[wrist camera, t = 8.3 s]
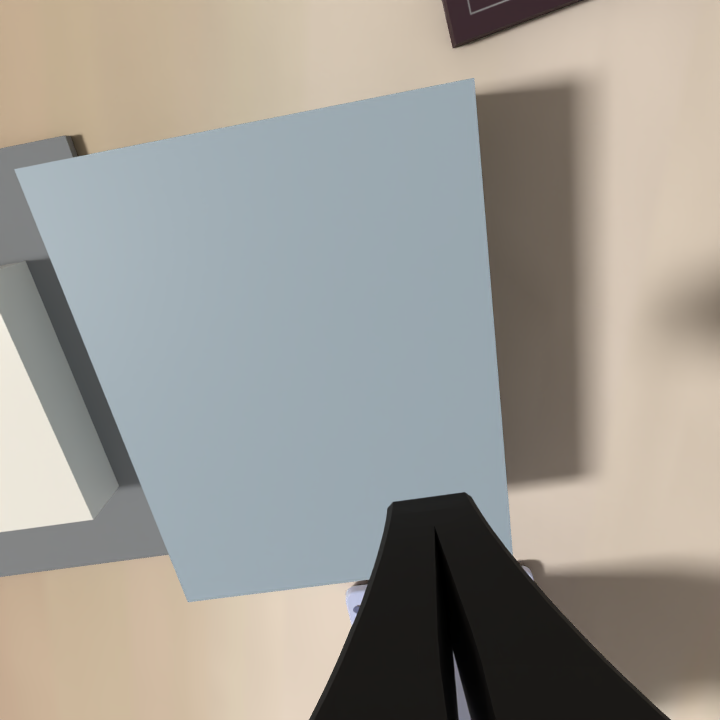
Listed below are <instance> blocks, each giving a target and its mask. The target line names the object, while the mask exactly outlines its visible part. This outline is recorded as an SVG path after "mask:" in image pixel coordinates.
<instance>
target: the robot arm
mask: <svg viewBox="0 0 720 720" xmlns="http://www.w3.org/2000/svg"><path fill="white" fill-rule="evenodd" d="M346 604H347V608H348V612H349V616H350V620H351V624H352V627H351V629H350V632H349V634H348V637H347V639H346V641H345V644H344V646H343V649H342V651H341V653H340V656H339V658H338V661H337V663H336V665H335V667H334V669H333V672H332V674H331V676H330V678H329V680H328V682H327V684H326V687H325V689H324V691H323V693H322V695H321V697H320V699H319V701H318V703H317V705H316V707H315V709H314V711H313V713H312V715H311V717H310V719H309V720H671V719H669V718H668V717H667V716H666V715H665V714H664V713H663V712H662V711H660V710H659V709H658V708H657V707H656V706H655V705H654V704H653V703H652V702H651V701H650V700H649V699H648V698H646V697H645V696H644V695H643V694H642V693H641V692H640V691H639V690H638V689H637V688H636V687H635V686H634V685H633V684H632V683H630V682H629V681H628V680H627V679H626V678H625V677H624V676H623V675H622V674H621V673H620V672H619V671H618V670H617V669H616V668H615V667H614V666H613V665H612V664H611V663H610V662H609V661H608V660H607V659H606V658H605V657H604V656H603V655H602V654H601V653H600V652H599V651H598V650H597V649H596V648H595V647H594V646H593V645H592V644H591V643H590V642H589V641H588V640H587V639H586V638H585V637H584V636H583V635H582V634H581V633H580V632H579V631H578V630H577V628H576V627H575V626H574V625H573V624H572V623H571V622H570V621H569V620H568V619H567V618H566V617H565V616H564V615H563V614H562V613H561V612H560V610H559V609H558V608H557V607H556V606H555V605H554V604H553V603H552V601H551V600H550V599H549V598H548V597H547V596H546V595H545V594H544V593H543V591H542V590H541V589H540V588H539V587H538V585H537V584H536V583H535V582H534V578H533V575H532V573H531V570H530V569H529V568H528V567H526V566H521V565H520V564H519V563H518V562H517V561H516V559H515V558H514V557H513V555H512V554H511V553H510V552H509V550H508V549H507V548H506V547H505V545H504V544H503V543H502V541H501V540H500V539H499V537H498V536H497V535H496V533H495V532H494V531H493V529H492V528H491V526H490V525H489V524H488V522H487V521H486V519H485V518H484V516H483V515H482V513H481V512H480V510H479V508H478V507H477V505H476V504H475V502H474V500H473V498H472V497H471V496H470V495H468V494H467V493H465V492H461V493H454V494H447V495H439V496H432V497H425V498H417V499H410V500H402V501H395V502H392V503H391V505H390V506H389V507H388V508H387V515H386V521H385V526H384V531H383V535H382V539H381V543H380V547H379V550H378V554H377V557H376V561H375V564H374V567H373V570H372V573H371V576H370V579H369V582H368V584H366V585H358V586H353V587H351V588H349V589H348V590H347V592H346ZM357 605H360V607H359V606H357Z"/></svg>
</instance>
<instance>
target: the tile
mask: <svg viewBox="0 0 720 720" xmlns="http://www.w3.org/2000/svg"><path fill="white" fill-rule="evenodd" d="M118 487H119V485H118V482H117V480H116V478H115V475H114V473H113V470H112V468H111V466H110V463H109V461H108V458H107V456H106V454H105V451H104V449H103V446H102V444H101V441H100V439H99V437H98V434H97V432H96V429H95V427H94V425H93V422H92V420H91V417H90V415H89V413H88V410H87V408H86V405H85V403H84V401H83V398H82V396H81V393H80V391H79V388H78V386H77V384H76V381H75V379H74V376H73V374H72V372H71V369H70V367H69V364H68V362H67V360H66V357H65V355H64V352H63V350H62V348H61V345H60V343H59V340H58V338H57V336H56V333H55V331H54V328H53V326H52V323H51V321H50V319H49V316H48V314H47V311H46V309H45V307H44V304H43V302H42V299H41V297H40V295H39V292H38V290H37V287H36V285H35V283H34V280H33V278H32V275H31V273H30V270H29V268H28V266H27V263H26V261H23V262H18V263H12V264H7V265H1V266H0V532H6V531H13V530H21V529H28V528H36V527H43V526H50V525H58V524H65V523H73V522H80V521H87V520H93V519H94V518H95V517H96V515H97V514H98V513H99V512H100V510H101V509H102V508H103V506H104V505H105V504H106V502H107V501H108V500H109V498H110V497H111V496H112V495H113V493H114V492H115V491H116V489H117V488H118Z"/></svg>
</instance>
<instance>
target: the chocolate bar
mask: <svg viewBox="0 0 720 720" xmlns="http://www.w3.org/2000/svg"><path fill="white" fill-rule="evenodd" d="M579 1H581V0H442V2H443V7H444V11H445V16H446V20H447V25H448V29H449V34H450V38H451V43H452V47H453V48H455V47H458V46H461V45H463V44H466V43H469V42H471V41H474V40H477V39H480V38H482V37H485V36H488V35H490V34H493V33H496V32H498V31H501V30H504V29H506V28H509V27H512V26H514V25H517V24H520V23H522V22H525V21H528V20H530V19H533V18H536V17H539V16H541V15H544V14H547V13H549V12H552V11H555V10H557V9H560V8H563V7H565V6H568V5H571V4H573V3H576V2H579Z"/></svg>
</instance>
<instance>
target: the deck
mask: <svg viewBox="0 0 720 720" xmlns="http://www.w3.org/2000/svg"><path fill="white" fill-rule="evenodd" d="M14 170H15V173H16V175H17V178H18V180H19V182H20V185H21V187H22V190H23V192H24V195H25V197H26V200H27V202H28V205H29V207H30V210H31V212H32V215H33V217H34V220H35V222H36V225H37V227H38V230H39V232H40V235H41V237H42V240H43V242H44V245H45V247H46V250H47V252H48V255H49V257H50V260H51V262H52V265H53V267H54V270H55V272H56V275H57V277H58V280H59V282H60V285H61V287H62V290H63V292H64V295H65V297H66V300H67V302H68V305H69V307H70V310H71V312H72V315H73V317H74V320H75V322H76V324H77V327H78V329H79V332H80V334H81V337H82V339H83V342H84V344H85V347H86V349H87V352H88V354H89V357H90V359H91V362H92V364H93V367H94V369H95V372H96V374H97V377H98V379H99V382H100V384H101V387H102V389H103V392H104V394H105V397H106V399H107V402H108V404H109V407H110V409H111V412H112V414H113V417H114V419H115V422H116V424H117V427H118V429H119V432H120V434H121V437H122V439H123V442H124V444H125V447H126V449H127V452H128V454H129V457H130V459H131V462H132V464H133V466H134V469H135V471H136V474H137V476H138V479H139V481H140V484H141V486H142V489H143V491H144V494H145V496H146V499H147V501H148V504H149V506H150V509H151V511H152V514H153V516H154V519H155V521H156V524H157V526H158V529H159V531H160V534H161V536H162V539H163V541H164V544H165V546H166V549H167V551H168V554H169V556H170V559H171V561H172V564H173V566H174V569H175V571H176V574H177V576H178V579H179V581H180V584H181V586H182V589H183V591H184V594H185V596H186V599H187V601H188V602H193V601H201V600H209V599H217V598H225V597H233V596H241V595H249V594H257V593H265V592H273V591H281V590H289V589H297V588H305V587H313V586H321V585H329V584H338V583H346V582H354V581H362V580H369V579H370V576H371V573H372V570H373V567H374V564H375V561H376V557H377V554H378V550H379V547H380V543H381V539H382V535H383V531H384V526H385V521H386V515H387V508H388V507H389V506H390V505H391V503H392V502H395V501H402V500H410V499H417V498H425V497H432V496H439V495H447V494H454V493H461V492H465V493H467V494H468V495H470V496H471V497H472V498H473V500H474V502H475V504H476V505H477V507H478V508H479V510H480V512H481V513H482V515H483V516H484V518H485V519H486V521H487V522H488V524H489V525H490V526H491V528H492V529H493V531H494V532H495V533H496V535H497V536H498V537H499V539H500V540H501V541H502V543H503V544H504V545H505V547H506V548H507V549H508V550H509V552H510V553H511V554H512V555H513V552H512V540H511V528H510V515H509V503H508V490H507V478H506V466H505V453H504V441H503V429H502V416H501V404H500V392H499V379H498V367H497V355H496V342H495V330H494V317H493V305H492V293H491V280H490V268H489V256H488V243H487V231H486V219H485V206H484V194H483V182H482V169H481V157H480V144H479V132H478V120H477V107H476V95H475V83H474V78H471V79H466V80H461V81H456V82H451V83H446V84H441V85H436V86H431V87H426V88H421V89H416V90H411V91H406V92H401V93H396V94H391V95H386V96H381V97H376V98H371V99H366V100H361V101H356V102H351V103H345V104H340V105H335V106H330V107H325V108H320V109H315V110H310V111H305V112H300V113H295V114H290V115H285V116H280V117H275V118H270V119H265V120H260V121H255V122H250V123H245V124H240V125H235V126H230V127H225V128H220V129H214V130H209V131H204V132H199V133H194V134H189V135H184V136H179V137H174V138H169V139H164V140H159V141H154V142H149V143H144V144H139V145H134V146H129V147H124V148H119V149H114V150H109V151H104V152H99V153H94V154H89V155H83V156H78V157H73V158H68V159H63V160H58V161H53V162H48V163H43V164H38V165H33V166H28V167H23V168H18V169H14Z"/></svg>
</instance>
